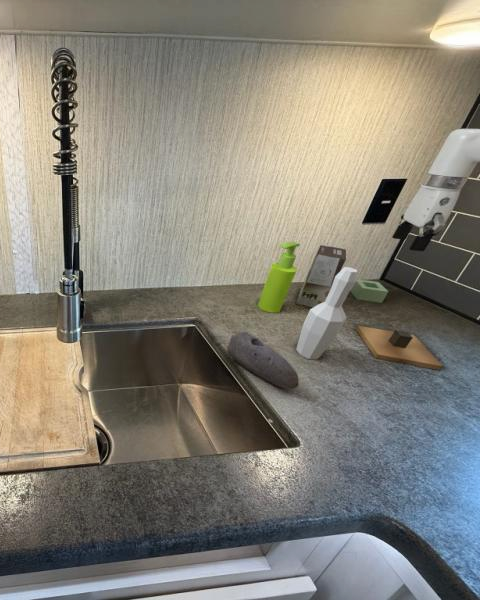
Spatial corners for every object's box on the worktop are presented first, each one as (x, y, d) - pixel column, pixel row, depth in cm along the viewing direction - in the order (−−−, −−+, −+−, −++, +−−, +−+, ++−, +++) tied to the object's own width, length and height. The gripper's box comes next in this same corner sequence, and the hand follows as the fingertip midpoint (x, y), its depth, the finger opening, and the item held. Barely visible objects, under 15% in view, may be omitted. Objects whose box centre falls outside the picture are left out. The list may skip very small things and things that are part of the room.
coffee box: (321, 310, 90) (347, 259, 82) (296, 303, 93) (318, 253, 85) (323, 297, 96) (346, 249, 88) (299, 291, 99) (319, 244, 91)
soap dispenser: (250, 305, 92) (272, 241, 82) (267, 300, 94) (290, 237, 84) (267, 315, 88) (293, 249, 77) (284, 310, 90) (312, 245, 79)
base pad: (411, 338, 79) (421, 324, 77) (440, 370, 69) (452, 355, 67) (355, 329, 82) (363, 315, 80) (375, 358, 73) (385, 343, 70)
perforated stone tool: (299, 391, 64) (313, 366, 60) (284, 401, 62) (297, 375, 58) (236, 349, 75) (244, 326, 71) (221, 356, 73) (229, 333, 69)
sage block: (372, 293, 99) (378, 282, 97) (381, 303, 94) (388, 291, 92) (348, 289, 101) (354, 278, 99) (356, 299, 96) (362, 288, 93)
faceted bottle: (306, 342, 77) (346, 261, 66) (330, 359, 72) (378, 274, 61) (286, 347, 76) (323, 265, 64) (309, 364, 71) (354, 278, 59)
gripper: (485, 190, 73) (441, 257, 82) (441, 177, 87) (407, 236, 96) (445, 188, 75) (406, 253, 84) (408, 176, 89) (378, 233, 98)
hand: (406, 244), depth 90 cm, fingers open, 9 cm apart
